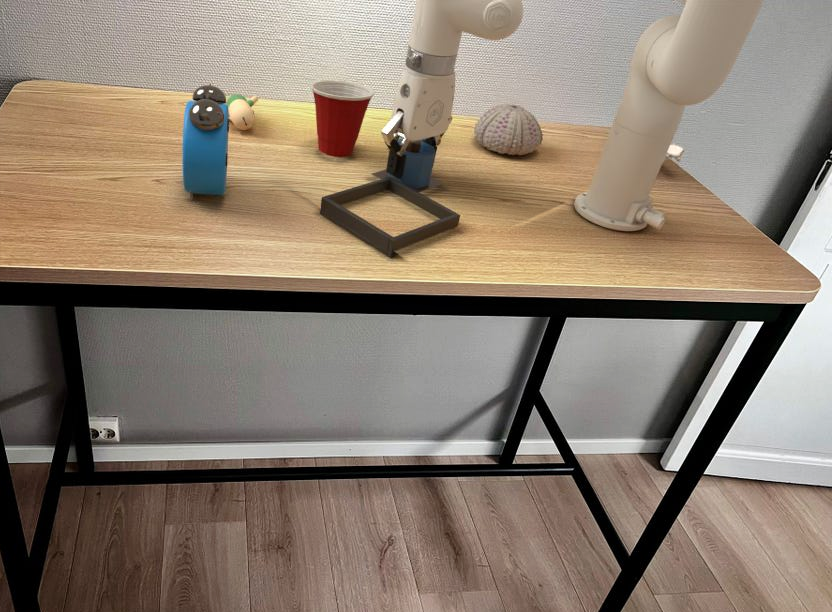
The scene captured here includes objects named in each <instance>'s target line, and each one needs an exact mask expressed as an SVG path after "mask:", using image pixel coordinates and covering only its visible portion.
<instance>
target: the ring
mask: <svg viewBox="0 0 832 612" xmlns="http://www.w3.org/2000/svg"><path fill="white" fill-rule="evenodd" d="M402 141H403V138H401V139H400V138H399V139H398V141H397V142H398V143H399V145H401V143H402ZM420 141H421V140H420ZM407 150H408V146H407V148H406V150H405V152H404V155H406V160H405V165H404V171H403V176H402V178H399V179H398V178H396V177H394V176H393V175H391V174H389V173H388V177H392V178H394V179H395V180H397V181H399V182H401V183H403V184H405V185H406V186H408V187H410V188H421V187H424V186H427V185H429V182H430V177H432V172H433V168H434V165H433V163H434V164H435V161H434V158H435V159H436V156H435V149H434V147H433V146H431V145H429V144H427V143H425V142H423V141H421V146H420V151H419V153H413V152H408V151H407Z"/></svg>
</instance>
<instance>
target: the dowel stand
mask: <svg viewBox="0 0 832 612" xmlns="http://www.w3.org/2000/svg"><path fill="white" fill-rule="evenodd" d="M420 146H421V140H419V141H413V142H412V141H410V142H409V144H408V150H407V151H408V152H413V153H419V151H420ZM371 175H372V176H374V177H376V178H377V179H378V180H380V179H383V178H387V177H388V173H387V172H386V169H383V170H379V171H376V172H371ZM442 185H445V182H443V181H441V180H439V179H437V178H435V177H433V176H431V177H430V182H429V185H427V186H424V187H421V188H412V189H414V190H415V191H417V192H419V193H422V192H425V191H428V190H430V189H433V188H436V187H440V186H442Z"/></svg>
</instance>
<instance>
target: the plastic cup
mask: <svg viewBox="0 0 832 612" xmlns="http://www.w3.org/2000/svg"><path fill="white" fill-rule="evenodd" d="M310 89H311V91H312V93H313V98H314V106H315V120H316V135H317V148H318V151H320V152H321V153H322V154H324V155H326V156H330V157H333V158H334V157H336V158H345V157H346V158H347V157H348V156H351V155H352V154H353V152H354V149H355V146H356V142H357V141H358V138H359V135H360V132H361V128H362V125H363V122H364V118H365V115H366V112H367V110H368V107H369V105H370V102H371V100H372V98H373V97H374V96H375V91H374V90H373V89H372V88H370V87H369V86H367V85H364V84H360V83H357V82H352V81H346V80H335V79H332V80H331V79H329V80H328V79H327V80H319V81H318V80H317V81H313V82H312V83H311V84H310Z"/></svg>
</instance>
